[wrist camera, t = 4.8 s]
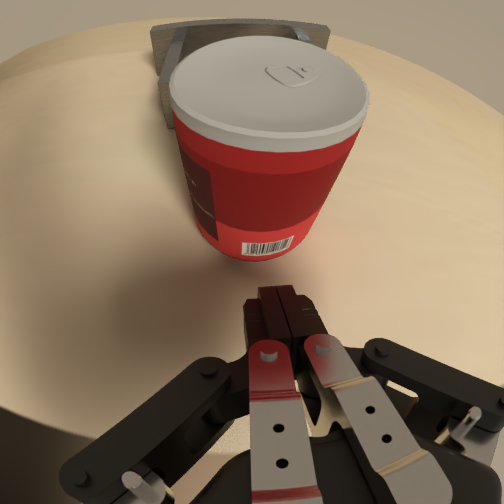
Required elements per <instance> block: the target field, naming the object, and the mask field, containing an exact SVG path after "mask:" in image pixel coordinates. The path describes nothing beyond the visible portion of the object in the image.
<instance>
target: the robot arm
mask: <svg viewBox="0 0 504 504" xmlns="http://www.w3.org/2000/svg"><path fill="white" fill-rule="evenodd" d="M243 314H244V335H245V343H246V351H247V352H246V354H245V355H244V356H243V357H241V358H240V359H238V360H236V361H233V362H230V363H226V362H225V361H224V360H222V359H220V358H216V357H204V358H200V359H198V360H196V361H194V362H193V363H192V364H190V365H189V366H188V367H187V368H186V369H185V370H183V371H182V372H181V373H180V374H179V375H177V376H176V377H175V378H174V379H173V380H171V381H170V382H169V383H168V384H166V385H165V386H164V387H163V388H162V389H160V390H159V391H158V392H157V393H155V394H154V395H153V396H152V397H151V398H149V399H148V400H147V401H146V402H144V403H143V404H142V405H141V406H139V407H138V408H137V409H136V410H134V411H133V412H132V413H130V414H129V415H128V416H127V417H125V418H124V419H123V420H121V421H120V422H119V423H118V424H116V425H115V426H114V427H112V428H111V429H110V430H108V431H107V432H106V433H104V434H103V435H102V436H100V437H99V438H98V439H96V440H95V441H94V442H92V443H91V444H90V445H88V446H87V447H86V448H84V449H83V450H82V451H80V452H79V453H77V454H76V455H75V456H73V457H72V458H70V459H69V460H68V461H67V462H65V463H64V464H63V465H62V467H61V469H60V472H59V481H60V485H61V486H62V488H63V490H64V491H65V492H66V493H67V494H68V495H70V496H71V497H73V498H74V499H76V500H78V501H79V502H80V503H81V504H174V503H175V498H174V495H173V493H172V491H171V490H170V487H172V485H174V484H175V483H176V482H177V481H178V480H179V479H180V478H181V477H182V476H183V475H184V474H185V473H186V472H187V471H188V470H189V469H190V468H191V467H192V466H193V465H194V464H195V463H196V462H197V461H198V460H199V459H200V458H201V457H202V456H203V455H204V454H205V453H206V452H207V451H208V450H209V449H210V448H211V447H212V446H213V445H214V444H215V443H216V442H217V440H218V439H219V438H220V437H221V436H222V435H223V434H224V433H225V432H226V431H227V430H228V428H229V427H230V426H231V425H232V424H233V422H234V420H235V419H237V418H240V417H243V416H245V415H248V414H250V448H251V449H249V450H246V451H244V452H242V453H240V454H238V455H236V456H235V457H233V458H232V459H231V460H229V461H228V462H227V463H226V464H225V465H223V466H222V468H221V469H220V470H219V471H218V472H217V473H216V474H215V476H214V477H213V478H212V479H211V480H210V481H209V482H208V484H207V485H206V486H205V487H204V488H203V489H202V490H201V492H200V493H199V494H198V495H197V496H196V497H195V498H194V499H193V500H192V501H191V502H190V503H189V504H501V495H502V494H501V493H502V487H501V482H500V479H499V477H498V475H497V473H496V472H495V471H494V470H493V469H492V468H491V467H490V465H491V462H492V459H493V456H494V452H495V449H496V445H497V441H498V437H499V433H500V431H501V429H502V428H503V427H504V388H501V387H499V386H496V385H494V384H491V383H489V382H486V381H484V380H482V379H479V378H477V377H474V376H472V375H469V374H467V373H464V372H462V371H460V370H457V369H455V368H452V367H450V366H448V365H445V364H443V363H441V362H438V361H436V360H434V359H431V358H429V357H427V356H424V355H422V354H420V353H417V352H415V351H413V350H410V349H408V348H406V347H404V346H401V345H399V344H397V343H394V342H392V341H390V340H387V339H384V338H374V339H371V340H369V341H368V342H366V344H365V346H364V348H350V347H344V346H343V345H342V344H341V342H340V341H339V340H338V339H337V338H335V337H334V336H331V335H329V334H328V332H327V330H326V328H325V326H324V324H323V322H322V320H321V318H320V316H319V315H318V312H317V310H316V309H315V306H314V304H313V302H312V300H310V299H309V298H308V297H306V296H305V295H296V293H295V290H294V288H293V286H292V285H282V286H269V287H258V298H257V299H247V300H246V302H245V304H244V306H243ZM294 380H297V383H298V390H297V391H296V387H295V381H294ZM389 380H390V381H392V382H394V383H396V384H398V385H400V386H402V387H405V388H407V389H409V390H411V391H413V392H415V393H416V394H417V395H418V397H410V396H408V395H406V394H404V393H402V392H400V391H398V390H395V389H393V388H391V387H389V386H387V383H388V381H389ZM305 417H306V419H307V422H308V424H309V427H310V430H311V433H312V437H309V435H308V430H307V424H306V419H305Z"/></svg>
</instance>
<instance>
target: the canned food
mask: <svg viewBox="0 0 504 504" xmlns="http://www.w3.org/2000/svg"><path fill="white" fill-rule="evenodd" d="M169 87H170V95H169V97H170V102H171V108H172V115H173V121H174V126H175V131H176V135H177V140H178V145H179V149H180V154H181V158H182V162H183V167H184V171H185V175H186V179H187V184H188V188H189V192H190V196H191V200H192V204H193V208H194V212H195V216H196V220H197V224H198V227H199V229H200V231H201V233H202V234H203V236H204V237H205V238H206V240H207V241H208V242H209V243H210V244H211V245H212V246H214V247H215V248H216V249H218V250H219V251H220V252H222V253H223V254H226V255H228V256H230V257H232V258H235V259H239V260H243V261H254V262H256V261H265V260H269V259H273V258H276V257H279V256H281V255H283V254H285V253H287V252H289V251H290V250H292V249H293V248H295V247H296V246H297V245H298V244H299V243H301V241H302V240H303V239H304V238H305V236H306V235H307V234H308V232H309V230H310V228H311V226H312V224H313V223H314V221H315V219H316V217H317V215H318V213H319V211H320V209H321V208H322V206H323V204H324V202H325V200H326V198H327V196H328V194H329V192H330V190H331V188H332V186H333V184H334V183H335V181H336V179H337V177H338V175H339V173H340V171H341V169H342V167H343V165H344V163H345V161H346V159H347V157H348V155H349V153H350V151H351V149H352V147H353V145H354V142H355V140H356V138H357V135H358V133H359V131H360V129H361V127H362V124H363V122H364V120H365V117H366V113H367V109H368V107H369V92H368V89H367V86H366V84H365V82H364V81H363V79H362V78H361V76H360V75H359V74H358V73H357V72H356V71H355V70H354V69H353V68H352V67H351V66H350V65H349V64H348V63H346V62H345V61H344V60H342V59H341V58H339V57H337V56H336V55H334V54H332V53H330V52H329V51H327V50H324V49H322V48H320V47H317V46H315V45H312V44H309V43H306V42H302V41H299V40H294V39H289V38H284V37H275V36H244V37H236V38H231V39H226V40H221V41H218V42H215V43H212V44H209V45H206V46H204V47H202V48H200V49H198V50H196V51H194V52H193V53H191V54H189V55H188V56H186V57H185V58H184V59H183V60H182V61H181V62H180V63H179V64H178V65H177V66H176V68H175V69H174V71H173V73H172V74H171V78H170V82H169Z"/></svg>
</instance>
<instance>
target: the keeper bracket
mask: <svg viewBox="0 0 504 504" xmlns="http://www.w3.org/2000/svg"><path fill="white" fill-rule="evenodd" d="M150 35H151V41H152V47H153V53H154V58H155V63H156V69H157V74H158V76H160V78H159V81H158V86H159V91H160V96H161V101H162V105H163V110H164V114H165V119H166V123H167V128H168V129H171V128H175V126H174V121H173V115H172V108H171V102H170V97H169V95H170V87H169V82H170V78H171V74H172V73H173V71H174V69H175V68H176V66H177V65H178V64H179V63H180V62H181V61H182V60H183V59H184V58H185V57H186V56H188V55H189V54H191V53H193V52H194V51H196V50H198V49H200V48H202V47H204V46H206V45H209V44H212V43H215V42H218V41H221V40H226V39H231V38H236V37H244V36H275V37H284V38H289V39H294V40H299V41H302V42H306V43H309V44H312V45H315V46H317V47H320V48H322V49H324V50H326V47H327V43H328V39H329V35H330V29H329V28H328V27H327V26H326V25H320V24H312V23H305V22H296V21H284V20H271V19H212V20H198V21H187V22H178V23H170V24H164V25H157V26H153V27H152V29H151V30H150Z"/></svg>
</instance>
